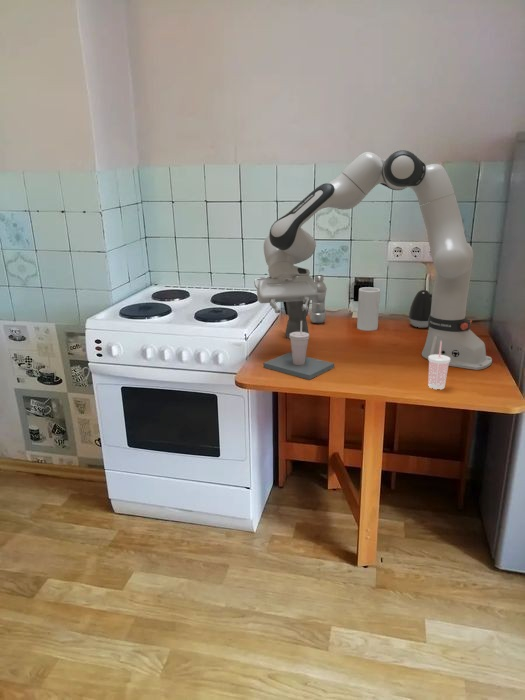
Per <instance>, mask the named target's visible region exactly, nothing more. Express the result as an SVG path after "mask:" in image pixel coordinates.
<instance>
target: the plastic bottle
mask: <svg viewBox="0 0 525 700" xmlns="http://www.w3.org/2000/svg"><path fill="white" fill-rule="evenodd" d="M313 280H314V282H315V285H316V288H317V291H318V293H317V296H316V298H315V299H314V300H311V312H310V317H309V318H310V321H311V323H314V324H323V323H325V321H326V319H327V315H326V307H325V305H326V303H325V301H326V294H327V286H326V283H325V282H324V280H325V279H324V275H323V274H315V275H314V278H313Z"/></svg>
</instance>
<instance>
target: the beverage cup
mask: <svg viewBox="0 0 525 700" xmlns="http://www.w3.org/2000/svg"><path fill="white" fill-rule="evenodd" d="M441 346H442V341H440V348H439V355H438V354H434V355H430V356H428V359H427V360H428V384H427V386H429V387H428V388H430V389H432V388H433V389H432V390H437V389H440V390H443V389H445V388H446V387H445V386H446V382H447V376H448V370H449V367H450V366H449V362H450V357H448V356H445V355H441Z"/></svg>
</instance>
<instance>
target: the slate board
mask: <svg viewBox="0 0 525 700" xmlns="http://www.w3.org/2000/svg"><path fill="white" fill-rule="evenodd" d="M263 368H265V369H268V370H271V371H275V372H279V373H283V374H287V375H290V376H293V377H298V378H301V379H304V380H308V381H310V380H312V379H314V377H315V378H316V376H317V377H319V376H321V375H323V374H324V372H325V373H326V371H327V372H329V371H331V370H332V368H333V369H335V362H330V361H326V360H322V359H317V358H313V357H309V356H306V357H305V363H304V364H303V365H295V364H293V358H292V352H287V353H285V354H282V355H280V356H277V357H275V358H271V359H269V360H268V361H265V362H263ZM330 369H331V370H330ZM328 370H329V371H328ZM322 373H323V374H322ZM320 374H321V375H320ZM318 375H319V376H318Z"/></svg>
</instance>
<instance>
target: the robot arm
mask: <svg viewBox="0 0 525 700" xmlns="http://www.w3.org/2000/svg"><path fill="white" fill-rule="evenodd" d="M378 185H382V186H384V187H386V188H387V189H390V190H393V191H403V190H406V189H407V188H410V189H411V190H413V192H414V193H415V195H416V198H417V201H418V204H419V208H420V212H421V215H422V218H423V222H424V225H425V228H426V234H427V239H428V244H429V245H428V246H429V249H430V254H431V258H432V263H433V267H434V269H435V271H436V272H435V276H434V282H433V283H434V285H433V289H432V293H431V294H432V304H431V314H430V315H429V319H428V327H427V336H426V340H425V344H424V347H423V349H422V352H421V356H422V357H423V358H424V359H427V360H428V356H430V355H434V354H438V355H439V348H440V341H442V346H441V355H445V356H448V357H450V362H449V366H448V367H455V368H460V369H469V370H475V371H479V370H480V371H481V370H485V369H487V368H488V367H490V366H491V365H492V364H493V358H492V357H491V356H488V355H487V352H486V344H485V342H484V341H483V340H482V339H481V338H480V337H478V336H477V335H476V333H475V332H473V331H472V330H471V329H470V328H471V325H472V322H473V320H472V319H470V320H469V319H468V318H467V317H466V314H467V313H466V312H467V304H468V297H469V288H470V282H471V276H472V274H471V273H472V269H473V260H474V250H473V248H472V246H471V244H470V243H469V242H467V239H466V233H465V228H464V224H463V218H462V213H461V211H460V206H459V203H458V201H457V196H456V194H455V190H454V186H453V183H452V182H451V178H450V177H449V174H448V173H447V171H446V169H445V167H444V166H442V165H441V164H440V163H439V164H438V163H430V164H426V163H424V162H423V161H422V160H421V159H420V158H419V157H418V156H417V155H416V154H414V153H413V152H412V151H409V150H405V149H404V150H401V149H400V150H397V151H394V152H392V153H391V154H390V155H389V156H388V157H387V158H381V157H380V156H379V155H377V154H376V153H374V152H371V151H365V152H364V151H363V152H361V154H360V155H358V156H357V157H356V158H354V159H353V160H352V161H351V162H350V163H348V165H347V166H346V167H345V168H344V169H343V170H342V171H341V172H340V173H339V174H338V175H337V176H336V177H335V178H334V179H332V180H331V181H329V182H326V183H322V184H320V185H319V186H317V187H315V189H314V190H312V191H311V192H310V193H308V195H306V196H305V197H304V198H303V199H302V200H301V201H300V202H298V204H296V205H295V206H294V207H293V208H292V209H291V210H290V211H288V212H287V213H286V214H285V215H283V216H281V217H280V218H278V219H277V220H275V221H274V222H273V224H272V225H271V227H270V229H269V234H268V235H267V236H266V238H265V239H264V242H263V254H264V258H265V259H264V260H265V263H266V265H267V267H268V270H267V271H268V275H269V276H264V277H262V276H261V277H257V278H256V279H255V280H254V284H253V285H254V287H255V289H256V294H257V295H256V296H257V301H258V302H259V303H260V304H269V306H270V307H271V308H272V309H273V310H274V312H275V314H280V313H281V311H282V309H281V306H280V305H277V304H276V303H283V302H289V301H303V303H305V304H303V305H302V309H303V310H302V311H307V310H308V306H307V304H308V301H309V300H310V301H312V300H314V299H315V298H316V296H317V293H318V291H317V288H316V285H315V280H314V278H313V277H312V276H310V273H311V272H310V270H309V269H308V268H304V267H299V266H296V265H297V264H300V263H302V262H305V261H306V260H308V259H310V258H311V257H312V256H313V255H314V253H315V250H316V246H317V245H316V244H317V243H316V240H315V238H314V236H312V235H311V234H310V233H309V232H307V231H306V230H305V229H304V228H302V227H303V225H304V224H305V223H307V222H308V221H309V220H310V219H311V218H312V217H313V216H315V215H316V214H317V213H318V212H319V211H320V210H321V211H322V210H323V209H327V208H332V209H337V210H341V211H344V210H345V211H346V210H351V209H354V208H355V207H356V206H358V205H359V204H360V203H361V202H362V201H363V199H365V198H366V197H367V195H368V194H369V193H370V192H372V190H373V189H374V188H375V187H377V186H378ZM308 311H309V310H308Z"/></svg>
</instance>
